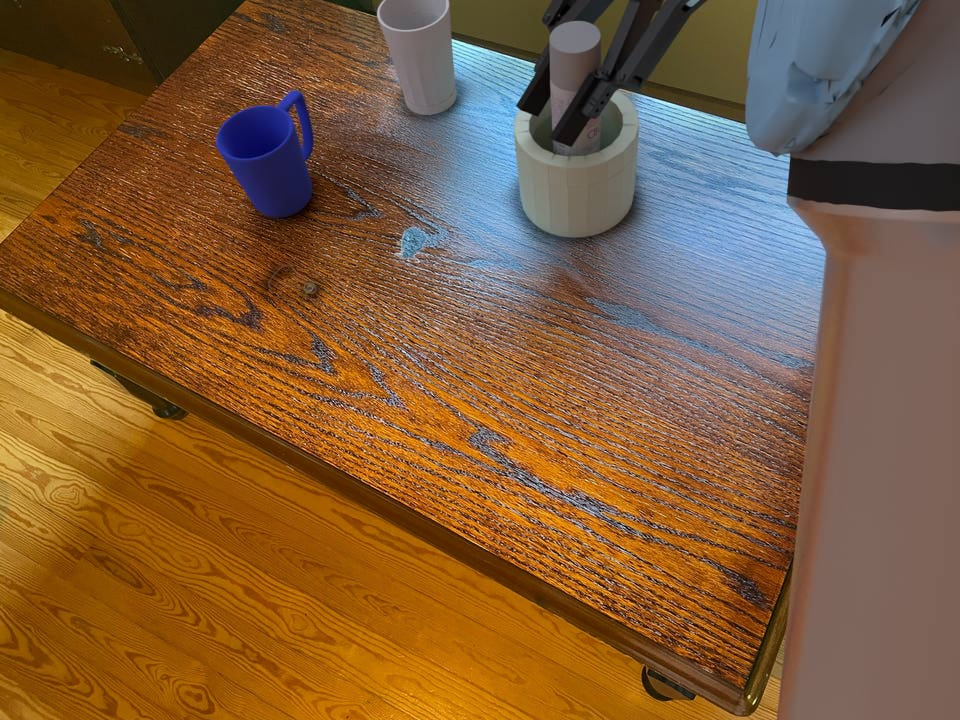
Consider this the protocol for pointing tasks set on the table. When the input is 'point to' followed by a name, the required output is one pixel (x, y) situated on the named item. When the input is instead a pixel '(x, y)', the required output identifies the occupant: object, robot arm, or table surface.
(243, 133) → the mug
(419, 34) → the cup
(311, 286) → the necklace
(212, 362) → the table surface
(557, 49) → the container
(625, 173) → the round pot
